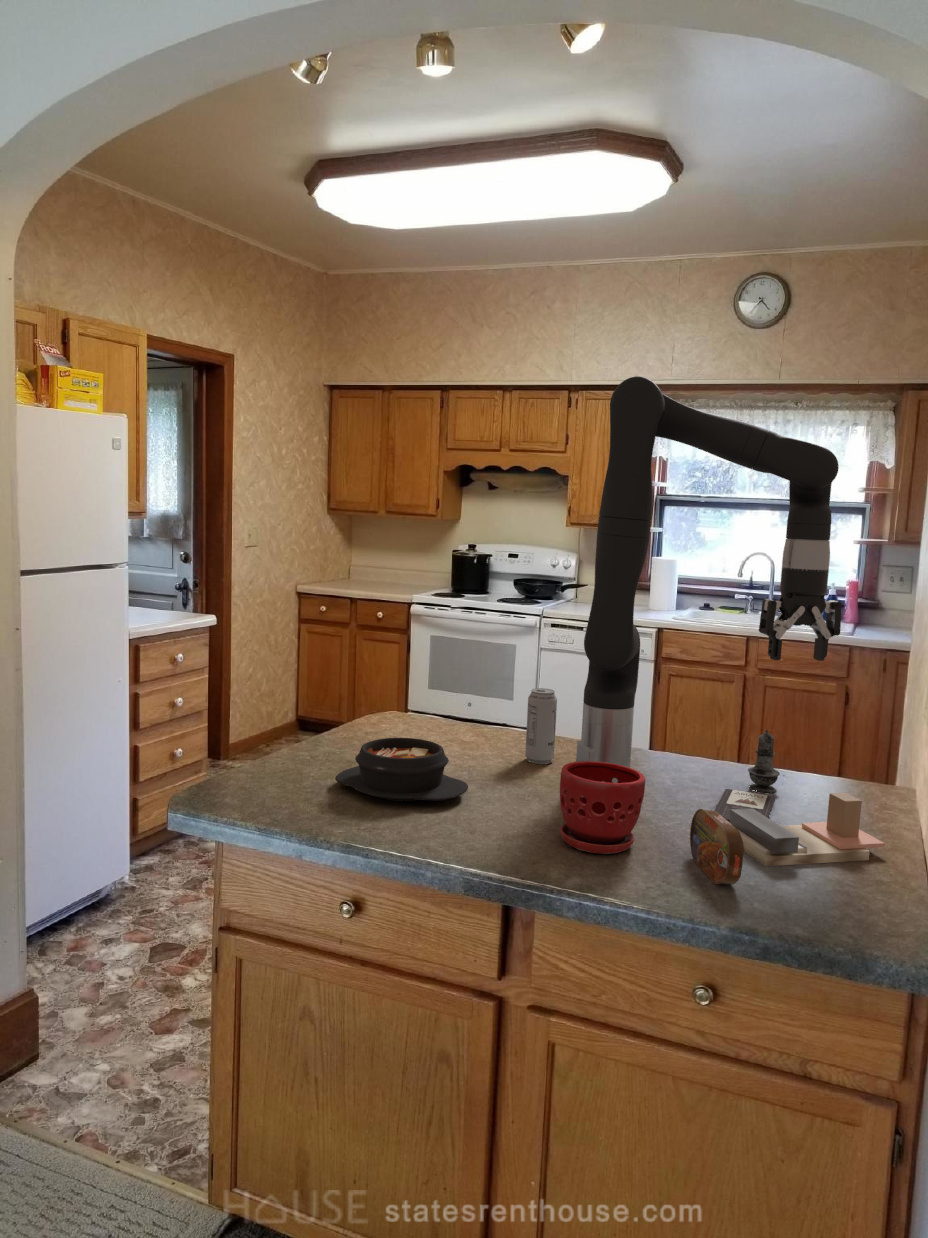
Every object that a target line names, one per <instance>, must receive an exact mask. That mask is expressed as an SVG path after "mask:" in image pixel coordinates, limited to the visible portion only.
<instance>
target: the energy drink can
mask: <svg viewBox="0 0 928 1238" xmlns="http://www.w3.org/2000/svg"><path fill="white" fill-rule="evenodd" d="M555 693H556V692H555V690H553V689H550V688H543V687H542V688H541V687H540V688H538V687H537V688H532V689H531V693H530V694H529V695H528V697H527V712H526V714H527V715H526V718H527V719H526V732H525V734H526V736H525V737H526V738H525V754H524V755H525V757H526V758H527V762H529V761H530V762H529V763H531V762H532V763H531V764H534V763H536V764H535V765H547V764H551V763H552V760H553V759H554V758H555V746H556V745H555V744H556V730H557V729H556V726H557V711H558V710H557V708H558V698H557V696H556V694H555Z"/></svg>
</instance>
